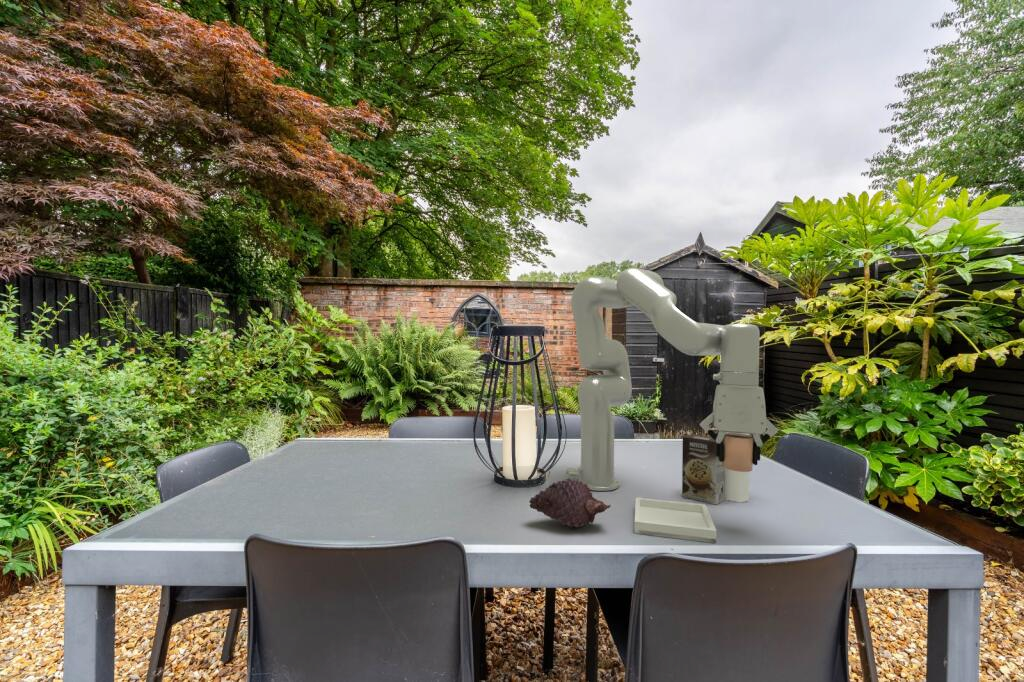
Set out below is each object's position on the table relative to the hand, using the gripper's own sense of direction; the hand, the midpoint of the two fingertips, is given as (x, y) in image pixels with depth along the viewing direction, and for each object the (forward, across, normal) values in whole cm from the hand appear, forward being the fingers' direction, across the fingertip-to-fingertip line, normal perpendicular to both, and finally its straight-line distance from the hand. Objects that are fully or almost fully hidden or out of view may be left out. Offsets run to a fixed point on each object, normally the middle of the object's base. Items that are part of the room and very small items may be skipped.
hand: (737, 461), depth 97 cm
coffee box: (+15, -4, +20) cm, 25 cm away
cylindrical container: (+15, +4, +22) cm, 27 cm away
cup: (+1, 0, 0) cm, 1 cm away
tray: (+15, -13, -2) cm, 20 cm away
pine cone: (+16, -35, -10) cm, 40 cm away
